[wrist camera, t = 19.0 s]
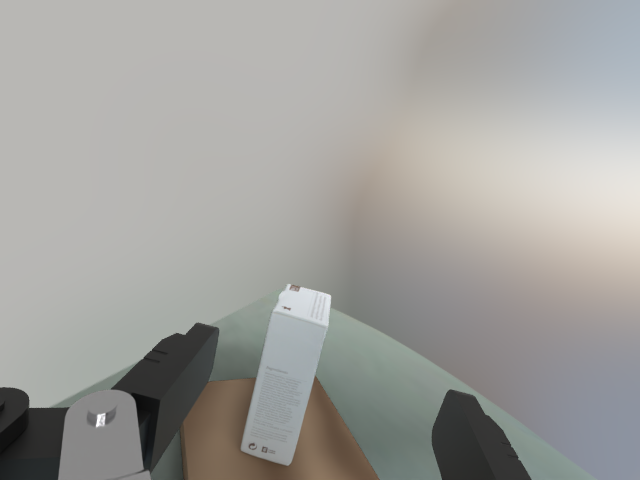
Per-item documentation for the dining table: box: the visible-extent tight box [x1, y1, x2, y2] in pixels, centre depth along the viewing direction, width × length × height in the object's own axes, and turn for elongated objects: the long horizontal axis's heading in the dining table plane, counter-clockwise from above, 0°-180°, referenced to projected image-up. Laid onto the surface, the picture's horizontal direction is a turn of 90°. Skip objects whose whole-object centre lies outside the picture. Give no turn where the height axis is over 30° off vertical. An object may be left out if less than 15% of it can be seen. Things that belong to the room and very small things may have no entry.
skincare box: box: [241, 284, 331, 466], centre depth 27 cm, size 6×4×12 cm
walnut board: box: [180, 376, 380, 480], centre depth 28 cm, size 14×14×2 cm
